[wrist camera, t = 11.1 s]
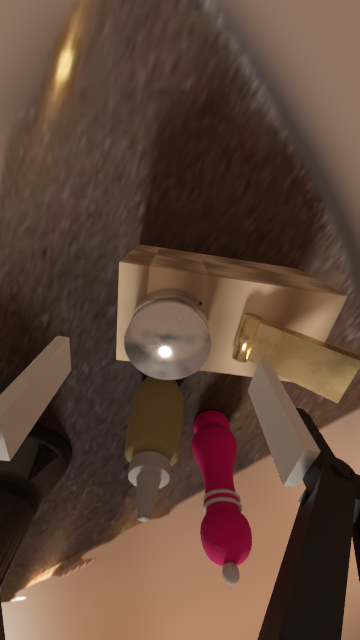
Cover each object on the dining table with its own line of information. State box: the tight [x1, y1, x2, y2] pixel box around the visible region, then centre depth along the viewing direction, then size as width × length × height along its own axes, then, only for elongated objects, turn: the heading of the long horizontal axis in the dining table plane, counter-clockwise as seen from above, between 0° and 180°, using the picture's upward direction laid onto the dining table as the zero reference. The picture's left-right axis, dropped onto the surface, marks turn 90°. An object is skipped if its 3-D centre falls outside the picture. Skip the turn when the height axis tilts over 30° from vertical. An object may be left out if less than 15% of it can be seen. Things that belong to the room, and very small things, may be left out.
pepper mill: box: [192, 410, 252, 586], centre depth 33 cm, size 7×7×20 cm
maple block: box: [116, 244, 348, 382], centre depth 26 cm, size 20×10×10 cm, turn 82°
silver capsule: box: [124, 288, 211, 380], centre depth 23 cm, size 7×7×12 cm
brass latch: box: [232, 313, 360, 403], centre depth 19 cm, size 9×4×2 cm
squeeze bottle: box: [125, 376, 185, 522], centre depth 30 cm, size 8×8×18 cm
